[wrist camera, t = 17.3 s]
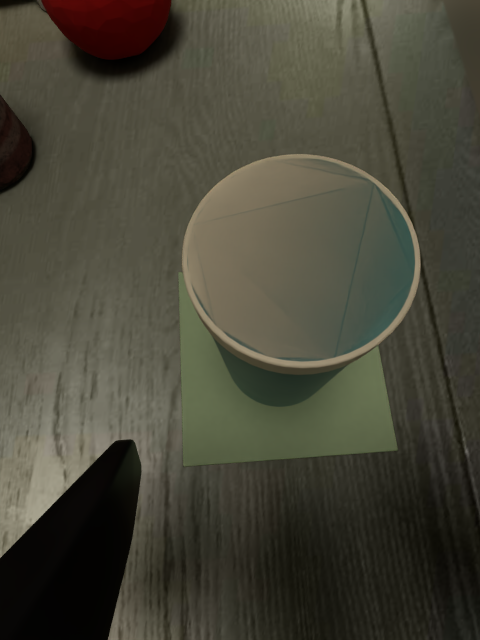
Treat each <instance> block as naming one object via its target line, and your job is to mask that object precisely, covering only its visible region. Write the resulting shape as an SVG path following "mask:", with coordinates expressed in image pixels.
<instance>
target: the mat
mask: <svg viewBox="0 0 480 640" xmlns="http://www.w3.org/2000/svg"><path fill="white" fill-rule="evenodd" d="M179 314H180V354H181V395H182V435H183V466H184V467H186V466H199V465H213V464H226V463H240V462H253V461H266V460H280V459H293V458H307V457H320V456H333V455H347V454H360V453H374V452H387V451H398V448H397V443H396V438H395V432H394V427H393V422H392V417H391V411H390V406H389V401H388V395H387V390H386V385H385V380H384V374H383V369H382V364H381V359H380V353H379V348H378V346H376V347H375V348H374V349H373V350H371V351H370V352H369V353H367V354H366V355H364V356H363V357H361V358H360V359H358V360H356V361H354V362H352V363H350V364H349V365H347V366H346V367H345V368H344V369H343V370H342V371H340V372H339V373H338V374H337V375H336V376H335V377H333V378H332V379H331V380H330V381H329V382H328V383H326V384H325V385H324V386H323V387H322V388H320V389H319V390H318V391H317V392H316V393H315V394H313V395H312V396H311V397H309V398H308V399H306V400H305V401H303V402H301V403H298V404H295V405H291V406H285V407H275V406H268V405H264V404H261V403H259V402H256V401H255V400H253V399H251V398H249V397H248V396H247V395H245V394H244V393H243V392H242V391H241V390H240V389H239V388H238V386H237V385H236V384H235V382H234V381H233V379H232V377H231V375H230V373H229V371H228V369H227V367H226V364H225V362H224V360H223V358H222V356H221V354H220V352H219V350H218V347H217V345H216V343H215V341H214V339H213V337H212V335H211V334H210V333H209V331H208V330H207V329H206V327H205V326H204V324H203V323H202V321H201V320H200V318H199V316H198V314H197V312H196V310H195V308H194V306H193V304H192V302H191V299H190V297H189V295H188V293H187V289H186V286H185V282H184V278H183V272H179Z"/></svg>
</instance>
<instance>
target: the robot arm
mask: <svg viewBox="0 0 480 640" xmlns="http://www.w3.org/2000/svg"><path fill="white" fill-rule="evenodd" d="M140 479H141V462H140V459H139V455H138V452H137V448H136V445H135V442H134V441H133V440H131V439H129V440H118V441H115V442H114V443H113V444H112V445H111V446H110V447H109V448H108V449H107V450H106V451H105V452H104V453H103V454H102V455H101V456H100V457H99V458H98V459H97V460H96V461H95V462H94V463H93V464H92V465H91V466H90V467H89V468H88V469H87V470H86V471H85V472H84V473H83V474H82V475H81V476H80V477H79V478H78V479H77V480H76V481H75V482H74V483H73V484H72V486H71V487H70V488H69V489H68V490H67V491H66V492H65V493H64V494H63V495H62V496H61V497H60V498H59V499H58V500H57V501H56V502H55V503H54V504H53V505H52V506H51V507H50V508H49V509H48V510H47V511H46V512H45V513H44V514H43V515H42V516H41V517H40V518H39V519H38V520H37V521H36V522H35V523H34V524H33V525H32V526H31V527H30V528H29V529H28V530H27V531H26V532H25V533H24V534H23V535H22V536H21V538H20V539H19V540H18V541H17V542H16V543H15V544H14V545H13V546H12V547H11V548H10V549H9V550H8V551H7V552H6V553H5V554H4V555H3V556H2V557H1V558H0V640H108V636H109V632H110V628H111V624H112V620H113V616H114V612H115V608H116V604H117V600H118V596H119V591H120V587H121V583H122V579H123V575H124V571H125V567H126V563H127V559H128V555H129V551H130V546H131V542H132V537H133V530H134V524H135V516H136V509H137V502H138V494H139V487H140Z"/></svg>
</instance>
